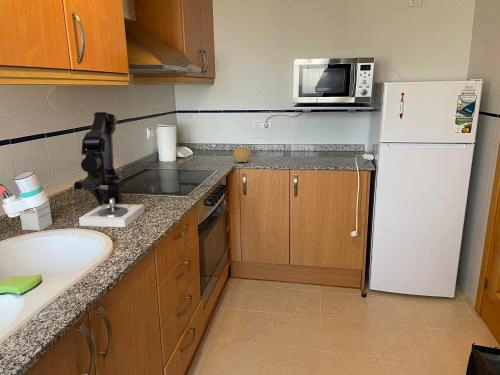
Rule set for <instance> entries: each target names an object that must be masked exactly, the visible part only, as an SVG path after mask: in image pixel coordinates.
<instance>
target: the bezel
mask: <svg viewBox="0 0 500 375" xmlns="http://www.w3.org/2000/svg"><path fill="white" fill-rule="evenodd" d="M115 207H125V208H127V209H128V213H126V214H125V215H123V216H122V217H102V216H98V212H99V211H101V210H103V209H106V208H110V204H109V203H104V204H103V205H102V206H101V205H99V206H97V207H95V208H94V209H92V210H90V211H88V212H87V213H84V215H81V216H80V217H78V222H79V226H80V227H81V226H82V227H104V228H105V227H110V228H114V227H115V228H126V227H127V226H128V225H130V224H132V222H134V221H135V220H136V219H138V218H139V217H140V216H141V215H143V214H144V213H145V212H146V211H145V208H146V206H145V204H135V203H132V204H122V203H121V204H120V203H119V204H118V203H115Z"/></svg>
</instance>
